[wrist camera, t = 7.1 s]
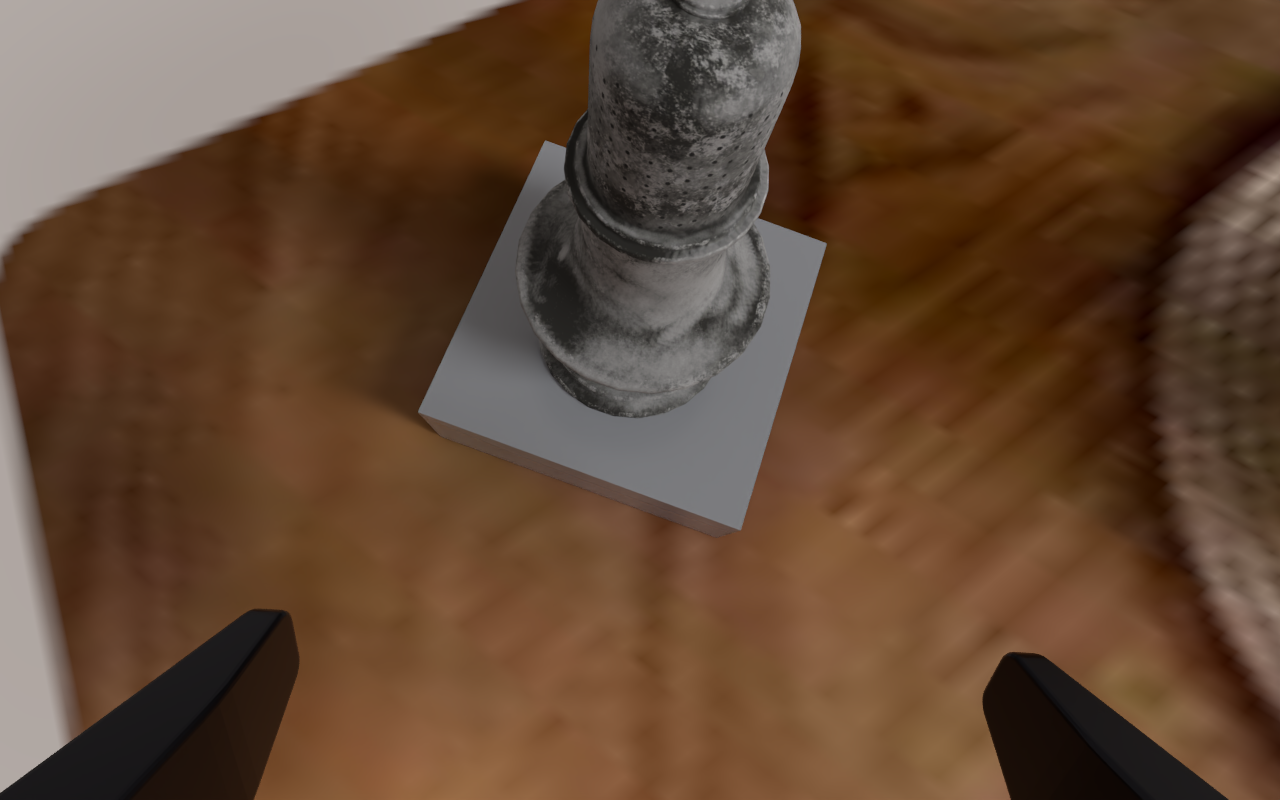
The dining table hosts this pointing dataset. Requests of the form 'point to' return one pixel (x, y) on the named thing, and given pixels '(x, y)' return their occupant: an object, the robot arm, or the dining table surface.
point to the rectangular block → (609, 445)
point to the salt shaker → (660, 203)
